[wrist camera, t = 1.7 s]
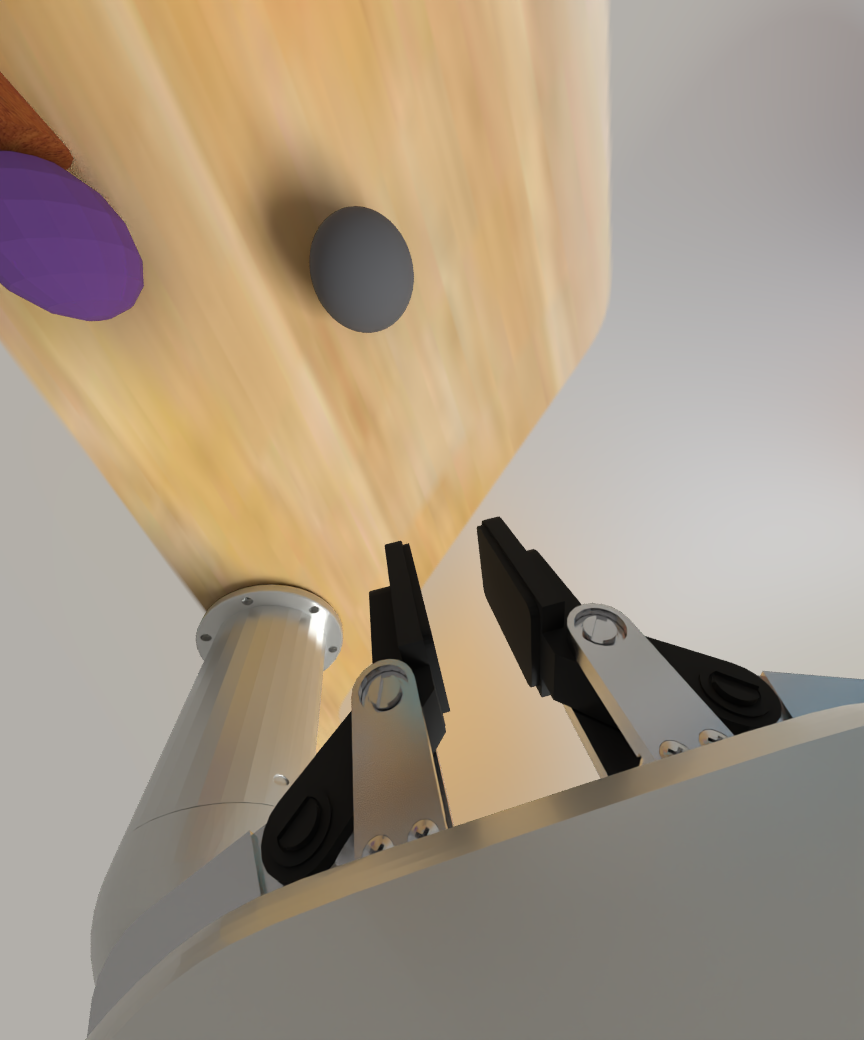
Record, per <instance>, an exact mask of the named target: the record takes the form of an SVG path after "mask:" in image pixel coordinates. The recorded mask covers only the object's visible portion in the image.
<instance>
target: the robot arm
mask: <svg viewBox="0 0 864 1040" xmlns="http://www.w3.org/2000/svg"><path fill="white" fill-rule="evenodd" d="M477 535H478V544H479V552H480V561H481V570H482V578H483V587H484V593H485V596H486V599H487V601H488V603H489V605H490V607H491V609H492V611H493V613H494V615H495V617H496V619H497V621H498V623H499V625H500V627H501V630H502V631H503V634H504V635H505V638H506V640H507V642H508V644H509V646H510V648H511V650H512V652H513V654H514V656H515V658H516V660H517V662H518V664H519V666H520V669H521V670H522V673H523V675H524V677H525V679H526V681H527V683H528V685H529V686H530V687H534V686H536V687H537V689H538V691H539V693H540V695H541V697H545V696H549V695H551V696H552V698H553V700H555V701H558V702H560V703H562V704H563V705H564V708H565V711H566V713H567V714H568V717H569V718H570V720H571V722H572V724H573V726H574V728H575V730H576V732H577V734H578V736H579V738H580V740H581V742H582V743H583V746H584V747H585V749H586V751H587V753H588V755H589V757H590V759H591V761H592V762H593V764H594V767H595V768H596V771H597V773H598V774H599V776H600V778H601V779H599V780H595V781H592V782H589V783H586V784H583V785H580V786H577V787H574V788H571V789H568V790H565V791H562V792H558V793H556V794H552V795H550V796H547V797H543V798H540V799H537V800H534V801H531V802H528V803H525V804H522V805H519V806H516V807H513V808H510V809H506V810H504V811H500V812H497V813H494V814H491V815H488V816H485V817H482V818H479V819H476V820H473V821H470V822H467V823H465V824H461V825H458V826H455V827H454V824H453V819H452V815H451V810H450V806H449V802H448V797H447V792H446V788H445V783H444V779H443V774H442V770H441V765H440V761H439V756H438V752H437V747H438V745H439V743H440V741H441V740H442V738H443V736H444V734H445V733H446V730H445V722H444V718H443V713H446V712H449V711H450V708H449V704H448V700H447V696H446V692H445V687H444V683H443V679H442V675H441V671H440V667H439V663H438V658H437V654H436V650H435V646H434V641H433V638H432V633H431V629H430V625H429V621H428V617H427V613H426V610H425V605H424V601H423V597H422V593H421V589H420V585H419V581H418V577H417V573H416V569H415V565H414V561H413V557H412V553H411V549H410V545H409V543H408V544H404V545H402V541H398V542H394V543H390V544H386V545H385V552H386V559H387V567H388V574H389V582H390V586H389V587H385V588H381V589H377V590H373V591H370V592H369V603H370V622H371V642H372V662H373V664H371V665H370V666H369V667H367V668H366V669H365V670H363V672H362V673H361V674H360V675H359V677H358V678H357V679H356V682H355V684H354V686H353V689H352V696H351V700H352V701H351V703H352V704H351V705H352V711H351V712H350V713H349V714H348V716H347V717H346V718H345V719H344V721H343V722H342V723H341V724H340V726H339V727H338V728H337V729H336V731H335V732H334V733H333V734H332V736H331V737H330V738H329V739H328V740H327V742H326V743H325V744H324V745H323V747H322V748H321V749H320V750H319V752H318V753H317V754H316V755H315V752H316V742H317V731H318V721H319V711H320V700H321V690H322V679H323V671H324V670H326V669H327V668H328V667H329V666H330V665H331V664H332V663H333V662H334V661H335V660H336V658H337V656H338V654H339V653H340V650H341V647H342V642H343V629H342V623H341V621H340V618H339V616H338V614H337V613H336V612H335V610H334V609H333V608H332V607H331V606H330V605H329V604H328V603H327V602H326V601H324V600H323V599H321V598H320V597H318V596H316V595H315V594H313V593H310V592H308V591H305V590H303V589H300V588H295V587H291V586H285V585H272V584H271V585H257V586H252V587H247V588H242V589H240V590H237V591H234V592H232V593H229V594H228V595H226V596H224V597H222V598H221V599H219V600H218V601H217V602H215V603H214V604H213V605H212V606H211V607H210V608H209V609H208V611H207V612H206V614H205V615H204V617H203V619H202V621H201V623H200V625H199V627H198V629H197V635H196V643H197V649H198V650H199V653H200V655H201V657H202V659H203V660H204V663H203V665H202V667H201V669H200V671H199V673H198V676H197V678H196V680H195V682H194V684H193V687H192V689H191V691H190V693H189V695H188V697H187V700H186V702H185V704H184V706H183V709H182V710H181V713H180V715H179V717H178V719H177V722H176V724H175V726H174V728H173V730H172V732H171V734H170V737H169V739H168V741H167V743H166V745H165V748H164V750H163V752H162V754H161V756H160V758H159V761H158V763H157V765H156V767H155V769H154V771H153V774H152V776H151V778H150V780H149V783H148V785H147V787H146V789H145V791H144V793H143V795H142V798H141V800H140V802H139V804H138V806H137V809H136V811H135V813H134V815H133V817H132V819H131V822H130V824H129V826H128V828H127V830H126V833H125V835H124V837H123V839H122V841H121V844H120V845H119V847H118V850H117V852H116V854H115V857H114V858H113V861H112V863H111V865H110V868H109V870H108V872H107V874H106V877H105V879H104V882H103V884H102V887H101V890H100V892H99V895H98V899H97V903H96V906H95V910H94V916H93V923H92V929H91V961H92V969H93V976H94V982H95V986H96V987H95V990H94V994H93V997H92V1003H91V1011H90V1019H89V1027H88V1034H87V1039H86V1040H864V679H852V678H840V677H828V676H815V675H804V674H791V673H780V672H768V671H763V672H762V674H761V675H760V676H757V675H756V674H754V673H752V672H751V671H749V670H747V669H745V668H743V667H741V666H738V665H736V664H733V663H730V662H727V661H724V660H720V659H717V658H714V657H711V656H708V655H705V654H701V653H698V652H694V651H691V650H688V649H685V648H682V647H679V646H675V645H672V644H669V643H666V642H662V641H659V640H656V639H652V638H649V637H646V636H644V635H643V634H642V633H641V632H640V630H639V629H638V628H637V627H636V626H635V625H634V624H633V623H632V622H631V621H630V619H629V618H628V617H626V616H625V615H624V614H623V613H622V612H620V611H618V610H616V609H615V608H613V607H610V606H606V605H603V604H595V603H590V604H583V605H581V603H580V602H579V601H578V600H577V598H576V597H575V596H574V595H573V594H572V592H571V591H570V590H569V589H568V588H567V586H566V585H565V584H564V583H563V581H562V580H561V579H560V578H559V577H558V576H557V574H556V573H555V572H554V571H553V569H552V568H551V567H550V566H549V564H548V563H547V562H546V561H545V560H544V559H543V557H542V556H541V555H540V554H539V553H538V551H536V550H534V549H532V550H528V551H526V550H525V548H524V547H523V546H522V545H521V543H520V542H519V541H518V539H517V538H516V537H515V535H514V534H513V533H512V532H511V530H510V529H509V528H508V526H507V525H506V524H505V523H504V521H503V520H502V519H501V518H500V517H495V518H491V519H487V520H484V521H482V525H481V526H478V527H477Z"/></svg>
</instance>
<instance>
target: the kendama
mask: <svg viewBox="0 0 864 1040" xmlns="http://www.w3.org/2000/svg"><path fill="white" fill-rule="evenodd" d="M72 161H73V157H72V155H71V153H70V152H69V150H68V148H67V147H66V146H65V145H64V144H63V142H62V141H61V140H60V139H59V138H58V137H57V136H56V135H55V133H54V132H53V131H52V130H51V129H50V128H49V127H48V125H47V124H46V123H45V122H44V121H43V120H42V119H41V117H40V116H39V115H38V114H37V113H36V112H35V111H34V110H33V108H32V107H31V106H30V105H29V104H28V103H27V102H26V100H25V99H24V98H23V97H22V96H21V95H20V94H19V93H18V91H17V90H16V89H15V88H14V87H13V86H12V85H11V83H10V82H9V81H8V80H7V79H6V78H5V77H4V75H3V74H2V73H1V72H0V283H1V284H2V285H3V286H4V287H6V288H7V289H8V290H9V291H11V292H13V293H15V294H17V295H18V296H20V297H22V298H24V299H26V300H28V301H30V302H32V303H33V304H35V305H37V306H39V307H41V308H43V309H45V310H47V311H49V312H50V313H53V314H57V315H62V316H67V317H71V318H76V319H81V320H86V321H101V320H107V319H111V318H113V317H115V316H117V315H119V314H121V313H123V312H124V311H126V310H128V309H130V308H131V307H132V306H134V304H135V302H136V300H137V298H138V296H139V294H140V292H141V290H142V288H143V286H144V283H143V263H142V259H141V257H140V255H139V253H138V250H137V248H136V246H135V244H134V242H133V239H132V237H131V235H130V233H129V231H128V228H127V226H126V224H125V223H124V221H123V220H122V219H121V218H120V217H119V216H118V214H117V213H116V212H115V211H114V210H113V209H112V207H111V206H110V205H109V204H108V203H107V202H106V200H105V199H104V198H103V197H102V196H101V195H100V194H99V193H98V192H96V191H95V190H93V189H92V188H91V187H89V186H88V185H86V184H85V183H83V182H82V181H81V180H79V179H78V178H76V177H75V176H73V175H72V174H70V173H69V172H68V171H66V169H68V168H70V166H71V164H72Z"/></svg>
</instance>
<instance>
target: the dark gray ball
mask: <svg viewBox="0 0 864 1040" xmlns="http://www.w3.org/2000/svg"><path fill="white" fill-rule="evenodd" d="M310 274H311V279H312V283H313V286H314V289H315V292H316V294H317V296H318V299H319V300H320V302H321V304H322V305H323V307H324V308H325V309H326V311H327V312H328V313H329V314H330V315H331V316H332V317H333V318H334V319H335V320H336V321H337V322H338V323H340V324H342V325H343V326H345V327H347V328H349V329H351V330H354V331H357V332H363V333H372V332H378V331H381V330H384V329H386V328H388V327H389V326H391V325H393V324H394V323H395V322H396V321H397V320H398V319H399V318H400V317H401V316H402V314H403V313H404V311H405V310H406V308H407V306H408V304H409V301H410V298H411V295H412V290H413V283H414V272H413V264H412V259H411V255H410V252H409V249H408V247H407V245H406V242H405V240H404V239H403V237H402V235H401V233H400V232H399V231H398V229H397V228H396V227H395V226H394V225H393V224H392V223H391V221H389V220H388V219H387V218H386V217H385V216H383V215H381V214H380V213H378V212H376V211H374V210H372V209H369V208H365V207H358V206H353V207H346V208H342V209H340V210H338V211H335V212H334V213H333V214H331V215H330V216H329V217H327V218H326V219H325V220H324V221H323V223H322V224H321V225H320V227H319V228H318V230H317V232H316V234H315V236H314V239H313V241H312V245H311V250H310Z"/></svg>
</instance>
